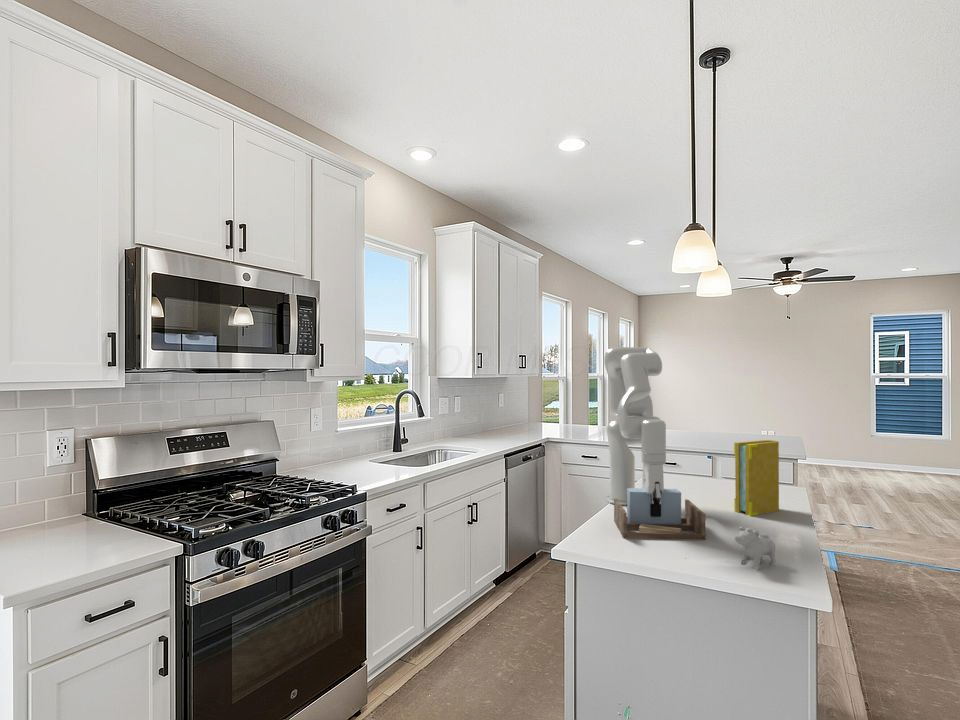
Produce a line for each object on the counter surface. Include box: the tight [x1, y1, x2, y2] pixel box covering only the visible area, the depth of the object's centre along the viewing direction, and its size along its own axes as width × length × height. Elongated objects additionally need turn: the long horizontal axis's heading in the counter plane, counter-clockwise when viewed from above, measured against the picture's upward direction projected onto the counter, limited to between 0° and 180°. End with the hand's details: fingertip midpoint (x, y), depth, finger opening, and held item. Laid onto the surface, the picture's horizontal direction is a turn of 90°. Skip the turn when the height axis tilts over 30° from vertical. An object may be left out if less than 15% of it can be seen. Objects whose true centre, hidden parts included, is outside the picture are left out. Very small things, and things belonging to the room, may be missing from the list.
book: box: [733, 439, 780, 517], centre depth 205 cm, size 17×7×25 cm, turn 114°
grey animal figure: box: [734, 526, 776, 571], centre depth 151 cm, size 5×13×11 cm, turn 118°
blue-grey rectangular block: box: [626, 487, 682, 525], centre depth 183 cm, size 5×16×12 cm, turn 85°
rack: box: [613, 498, 706, 541], centre depth 178 cm, size 18×24×9 cm
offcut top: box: [638, 524, 682, 533], centre depth 174 cm, size 4×12×2 cm, turn 65°
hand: (653, 513), depth 183 cm, fingers closed on blue-grey rectangular block, 5 cm apart
